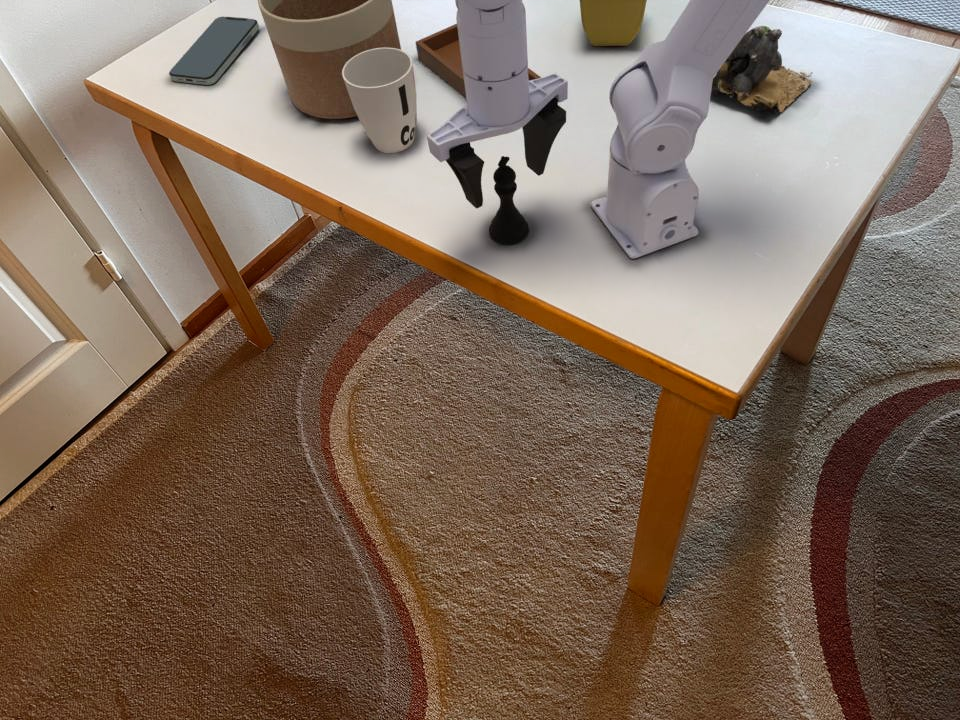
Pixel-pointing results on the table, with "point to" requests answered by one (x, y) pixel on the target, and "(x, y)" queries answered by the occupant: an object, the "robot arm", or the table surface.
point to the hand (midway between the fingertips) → (505, 185)
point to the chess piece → (507, 208)
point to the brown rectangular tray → (447, 57)
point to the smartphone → (214, 50)
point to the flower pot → (612, 21)
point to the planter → (325, 46)
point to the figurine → (760, 73)
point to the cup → (383, 96)
